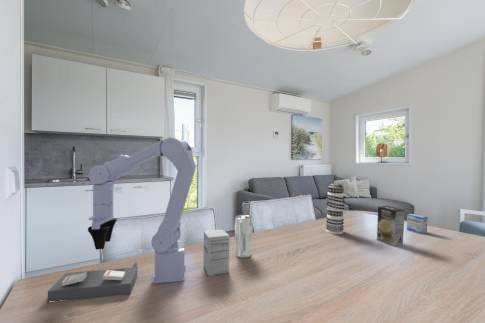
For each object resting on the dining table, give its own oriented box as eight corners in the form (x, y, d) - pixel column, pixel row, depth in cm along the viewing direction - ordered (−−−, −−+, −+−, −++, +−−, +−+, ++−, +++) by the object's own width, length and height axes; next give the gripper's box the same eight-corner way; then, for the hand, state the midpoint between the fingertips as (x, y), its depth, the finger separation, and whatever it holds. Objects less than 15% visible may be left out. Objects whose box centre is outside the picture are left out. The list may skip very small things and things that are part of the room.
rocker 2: (124, 274, 72) (125, 271, 72) (121, 280, 69) (122, 276, 69) (106, 273, 71) (106, 269, 71) (102, 279, 68) (103, 275, 68)
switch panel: (141, 264, 86) (141, 255, 86) (130, 293, 68) (130, 281, 68) (77, 269, 82) (77, 259, 82) (47, 302, 64) (47, 289, 64)
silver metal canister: (241, 250, 101) (242, 213, 101) (255, 254, 97) (256, 216, 96) (230, 255, 96) (231, 217, 96) (244, 260, 92) (245, 220, 91)
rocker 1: (87, 275, 70) (86, 271, 70) (82, 280, 67) (82, 277, 67) (67, 280, 69) (66, 276, 69) (62, 286, 66) (61, 282, 66)
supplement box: (202, 266, 86) (203, 230, 86) (223, 263, 89) (223, 228, 88) (207, 276, 79) (208, 237, 79) (229, 272, 82) (230, 235, 81)
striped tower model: (321, 230, 131) (322, 183, 130) (334, 228, 134) (335, 182, 134) (334, 235, 122) (335, 185, 122) (348, 233, 126) (349, 184, 126)
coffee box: (375, 239, 117) (377, 206, 116) (385, 238, 119) (386, 205, 119) (394, 246, 108) (395, 210, 108) (404, 244, 111) (405, 209, 110)
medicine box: (406, 230, 133) (406, 214, 133) (411, 229, 135) (412, 213, 135) (422, 234, 126) (422, 217, 126) (427, 233, 128) (427, 216, 128)
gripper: (97, 199, 85) (97, 238, 85) (79, 208, 71) (80, 254, 71) (119, 198, 87) (119, 237, 87) (106, 207, 72) (106, 253, 73)
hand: (103, 245), depth 79 cm, fingers open, 6 cm apart
